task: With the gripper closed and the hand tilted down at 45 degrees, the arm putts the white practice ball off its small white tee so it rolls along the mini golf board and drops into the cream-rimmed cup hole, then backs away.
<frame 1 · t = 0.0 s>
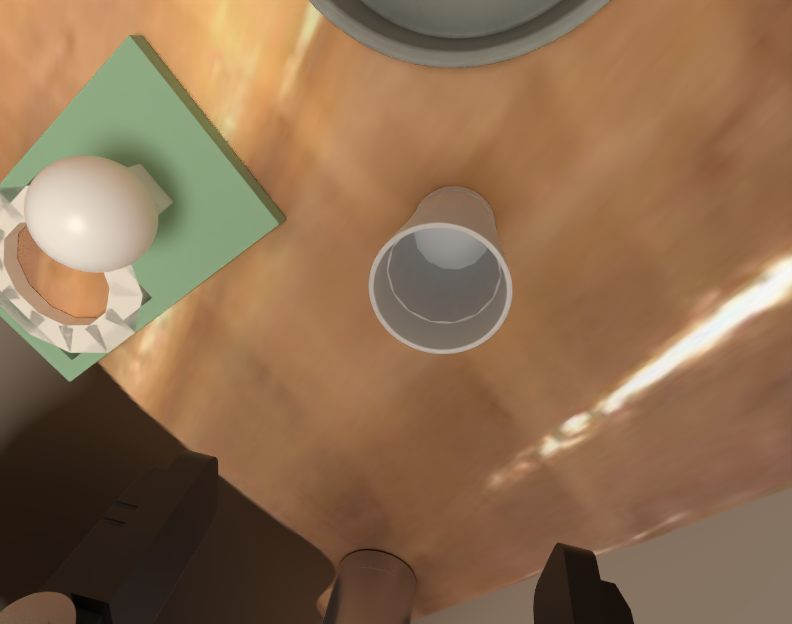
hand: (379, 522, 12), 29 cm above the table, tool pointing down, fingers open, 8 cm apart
mini golf board: (105, 235, 44), on the table
cup: (453, 226, 39), on the table
ball: (95, 215, 35), point 7 cm above the table, touching mini golf board
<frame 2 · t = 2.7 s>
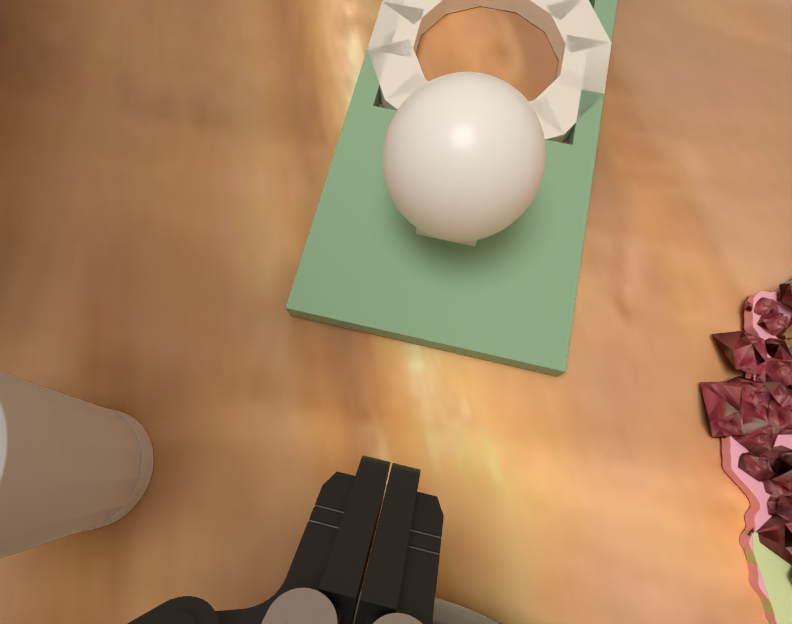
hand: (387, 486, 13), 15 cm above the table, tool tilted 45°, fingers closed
mini golf board: (469, 133, 34), on the table
cup: (97, 467, 28), on the table
ball: (462, 160, 25), point 7 cm above the table, touching mini golf board
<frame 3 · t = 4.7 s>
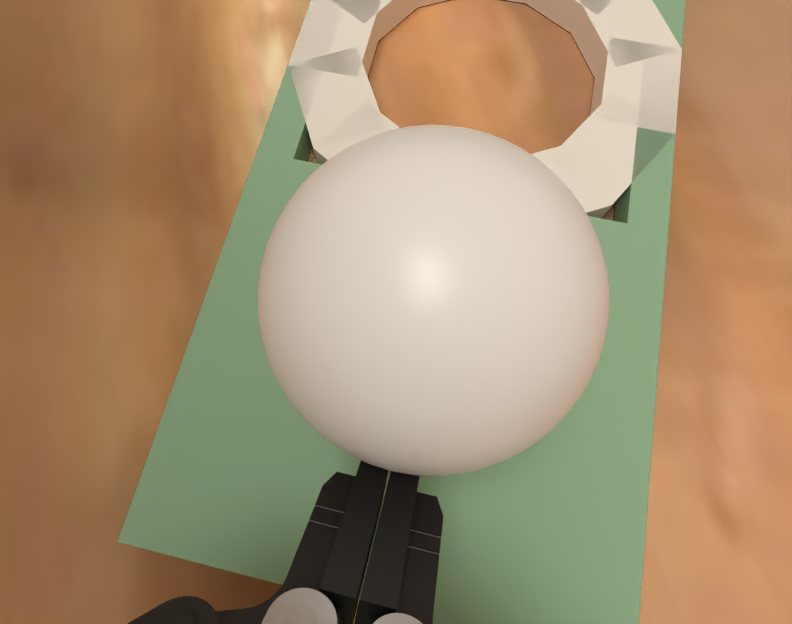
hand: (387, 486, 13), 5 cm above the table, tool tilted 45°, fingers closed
mini golf board: (454, 199, 21), on the table
ball: (429, 301, 12), point 7 cm above the table, touching gripper, mini golf board
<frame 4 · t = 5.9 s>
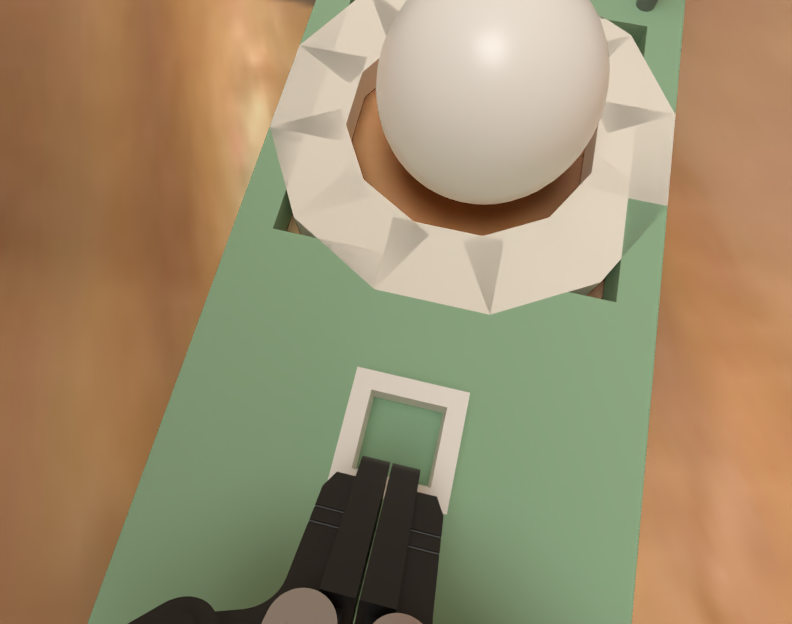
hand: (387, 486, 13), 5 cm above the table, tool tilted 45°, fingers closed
mini golf board: (439, 267, 20), on the table
ball: (488, 90, 18), point 4 cm above the table, tilted 177°
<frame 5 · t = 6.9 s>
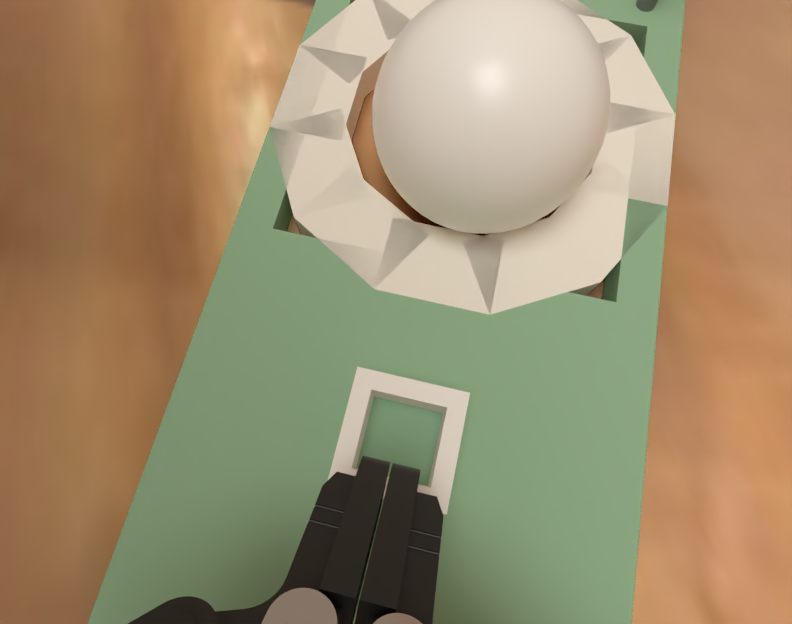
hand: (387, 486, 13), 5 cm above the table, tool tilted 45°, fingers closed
mini golf board: (439, 267, 20), on the table
ball: (486, 118, 18), point 4 cm above the table, tilted 165°
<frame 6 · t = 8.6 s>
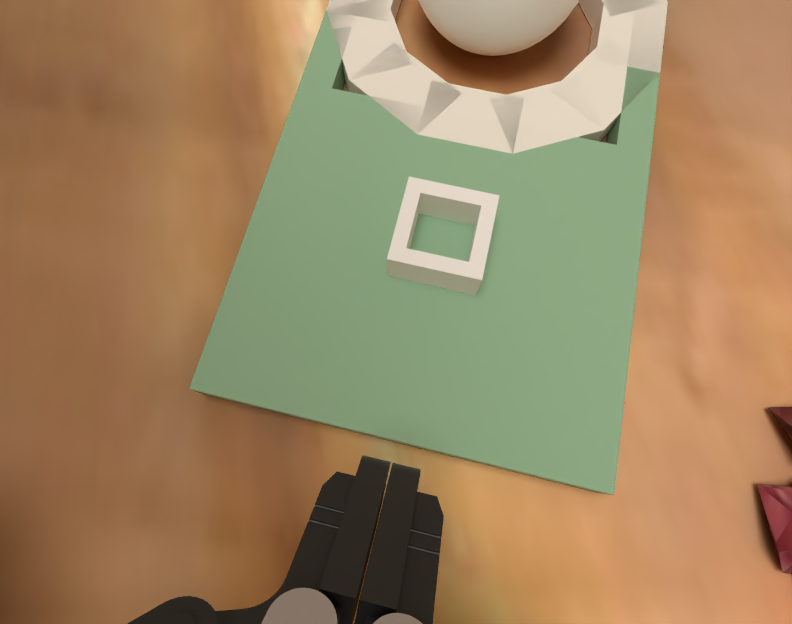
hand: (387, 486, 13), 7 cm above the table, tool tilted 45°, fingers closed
mini golf board: (468, 128, 24), on the table
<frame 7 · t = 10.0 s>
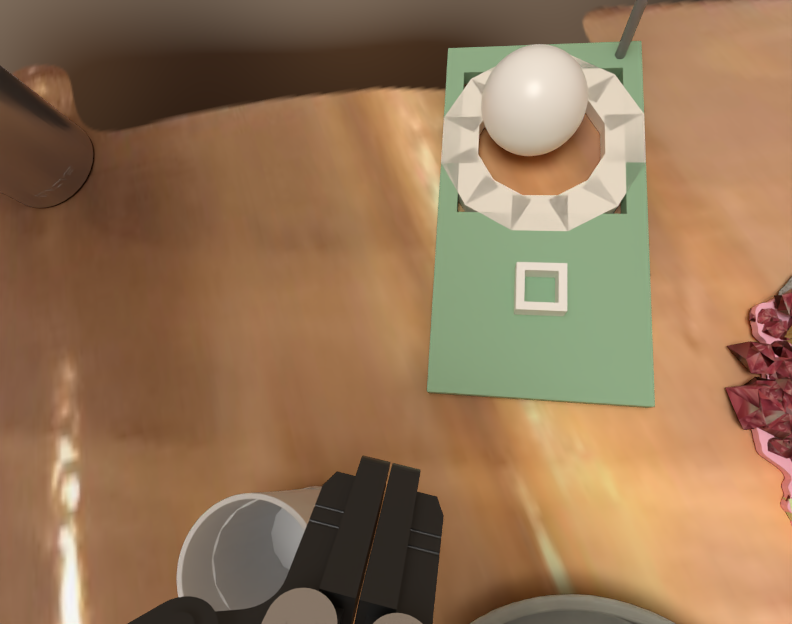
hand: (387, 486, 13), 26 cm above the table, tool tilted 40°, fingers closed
mini golf board: (537, 214, 41), on the table
cup: (315, 529, 38), on the table
ball: (533, 102, 39), point 4 cm above the table, tilted 141°
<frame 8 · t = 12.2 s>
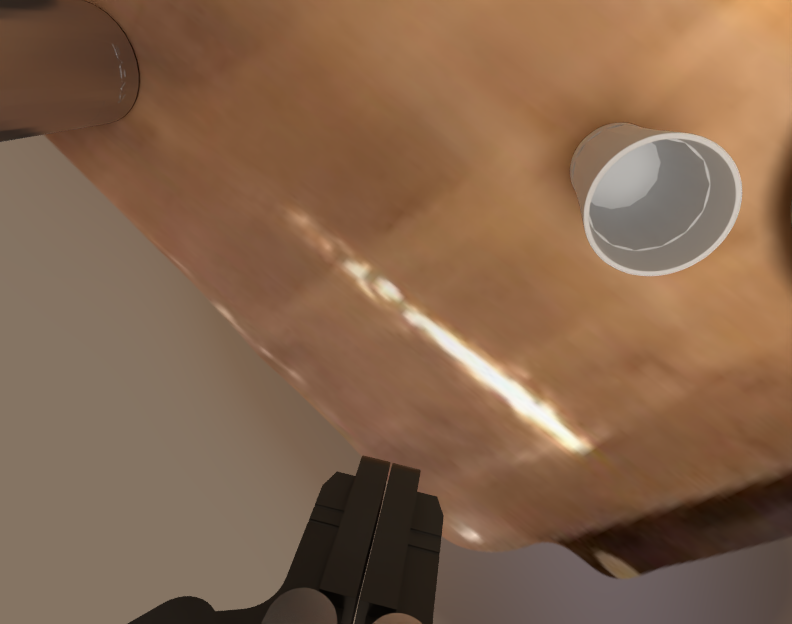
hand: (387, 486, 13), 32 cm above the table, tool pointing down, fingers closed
cup: (613, 166, 38), on the table
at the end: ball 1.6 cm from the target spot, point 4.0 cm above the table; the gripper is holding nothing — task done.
